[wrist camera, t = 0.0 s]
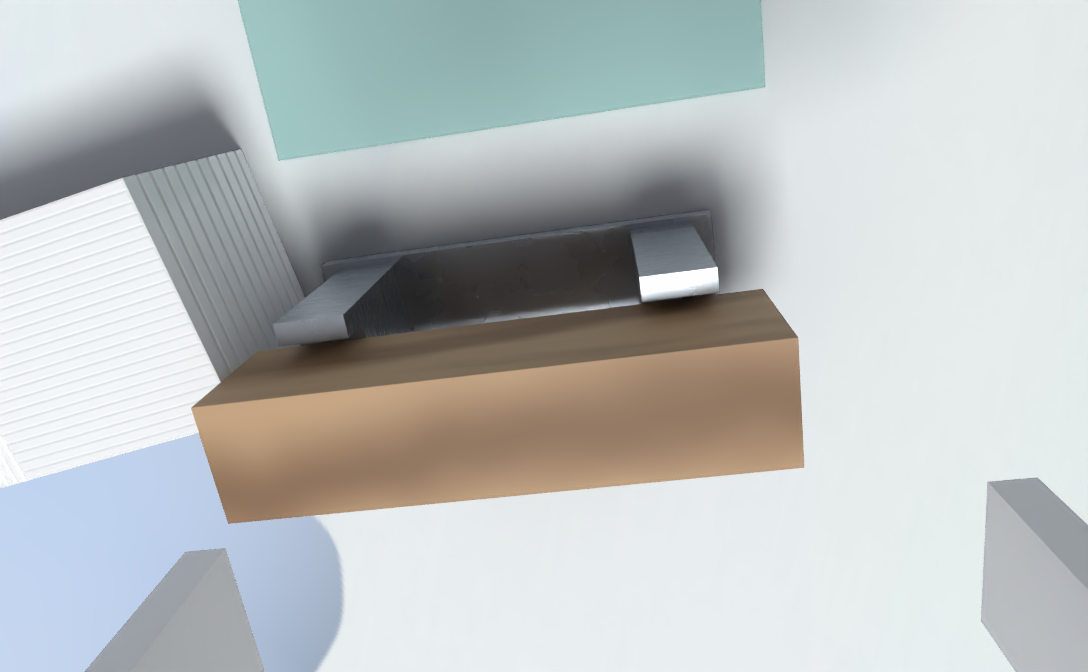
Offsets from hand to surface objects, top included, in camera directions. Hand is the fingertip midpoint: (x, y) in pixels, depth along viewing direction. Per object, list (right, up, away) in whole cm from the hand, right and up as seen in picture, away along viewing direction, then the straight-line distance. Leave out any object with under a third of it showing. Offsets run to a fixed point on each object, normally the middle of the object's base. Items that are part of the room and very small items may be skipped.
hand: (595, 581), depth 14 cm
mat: (-3, +19, +23) cm, 30 cm away
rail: (-2, +3, +20) cm, 21 cm away
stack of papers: (-30, +5, +31) cm, 43 cm away
